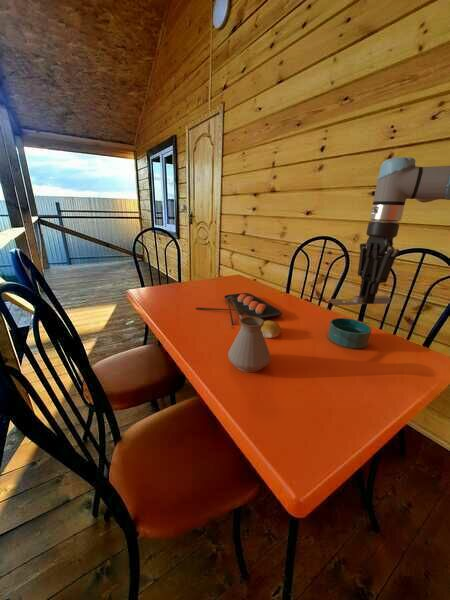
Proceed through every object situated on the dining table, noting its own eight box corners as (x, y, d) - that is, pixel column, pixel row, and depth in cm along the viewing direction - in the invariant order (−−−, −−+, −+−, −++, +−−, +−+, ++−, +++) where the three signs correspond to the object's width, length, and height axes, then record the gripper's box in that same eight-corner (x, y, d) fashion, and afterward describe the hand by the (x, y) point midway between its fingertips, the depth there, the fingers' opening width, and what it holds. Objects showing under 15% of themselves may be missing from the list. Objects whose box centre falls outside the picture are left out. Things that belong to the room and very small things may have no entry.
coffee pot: (277, 372, 66) (283, 319, 61) (237, 380, 63) (240, 325, 58) (244, 335, 85) (247, 293, 80) (211, 340, 81) (212, 296, 77)
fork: (383, 300, 81) (384, 294, 80) (390, 304, 78) (392, 298, 77) (328, 301, 78) (329, 295, 77) (333, 305, 75) (334, 298, 74)
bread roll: (282, 330, 90) (283, 319, 89) (276, 341, 83) (278, 329, 81) (259, 325, 93) (260, 315, 92) (252, 335, 86) (253, 324, 84)
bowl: (352, 331, 91) (355, 317, 89) (376, 349, 80) (380, 333, 78) (320, 332, 89) (323, 318, 88) (340, 350, 78) (343, 334, 76)
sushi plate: (284, 318, 101) (286, 309, 100) (215, 330, 89) (215, 320, 87) (248, 296, 126) (249, 288, 124) (190, 303, 113) (190, 294, 112)
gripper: (354, 220, 77) (340, 294, 85) (392, 222, 63) (371, 311, 70) (377, 221, 78) (361, 294, 86) (419, 223, 64) (395, 310, 72)
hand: (365, 301), depth 78 cm, fingers closed on fork, 2 cm apart
